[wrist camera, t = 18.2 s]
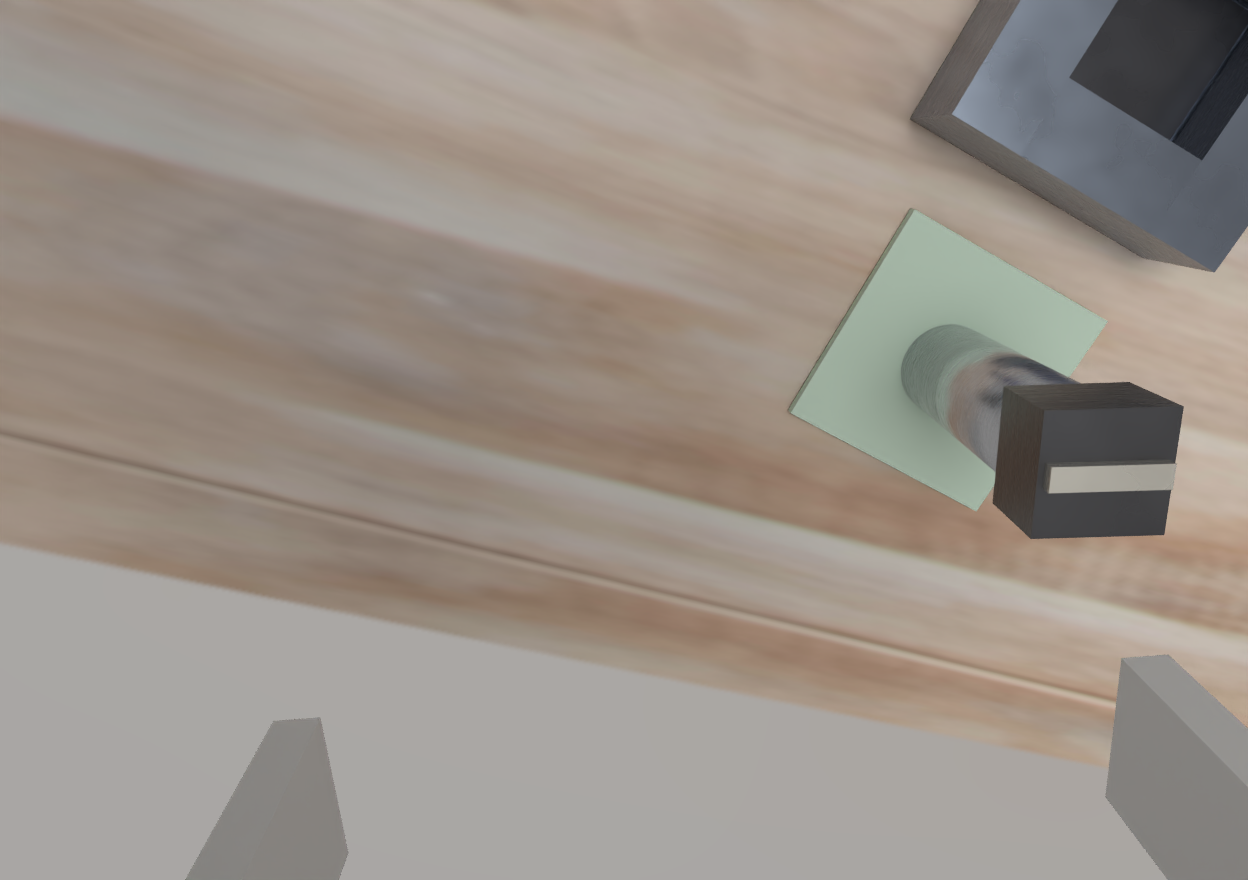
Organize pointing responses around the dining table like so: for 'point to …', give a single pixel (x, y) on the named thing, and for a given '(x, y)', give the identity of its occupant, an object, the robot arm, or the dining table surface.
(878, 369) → the pad
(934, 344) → the grey piece
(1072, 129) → the block
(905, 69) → the dining table surface
